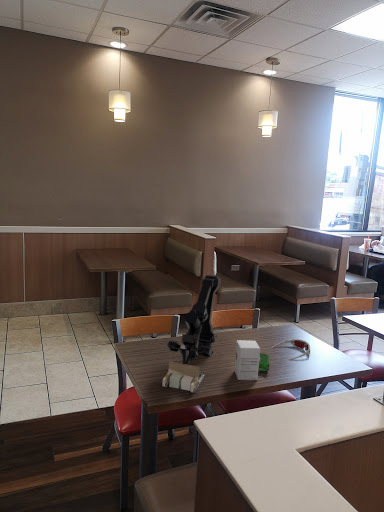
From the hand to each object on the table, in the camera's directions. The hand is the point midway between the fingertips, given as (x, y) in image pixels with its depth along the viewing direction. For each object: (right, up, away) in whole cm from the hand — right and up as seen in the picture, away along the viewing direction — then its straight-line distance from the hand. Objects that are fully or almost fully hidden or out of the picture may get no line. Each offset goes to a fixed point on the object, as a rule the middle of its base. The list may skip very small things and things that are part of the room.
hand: (184, 367), depth 168 cm
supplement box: (+27, -7, +11) cm, 30 cm away
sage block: (-4, -7, -1) cm, 8 cm away
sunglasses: (+55, -3, +39) cm, 68 cm away
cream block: (+1, -7, -3) cm, 8 cm away
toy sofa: (-2, -7, -3) cm, 8 cm away
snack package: (+36, -6, +20) cm, 41 cm away
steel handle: (0, -6, +3) cm, 7 cm away
